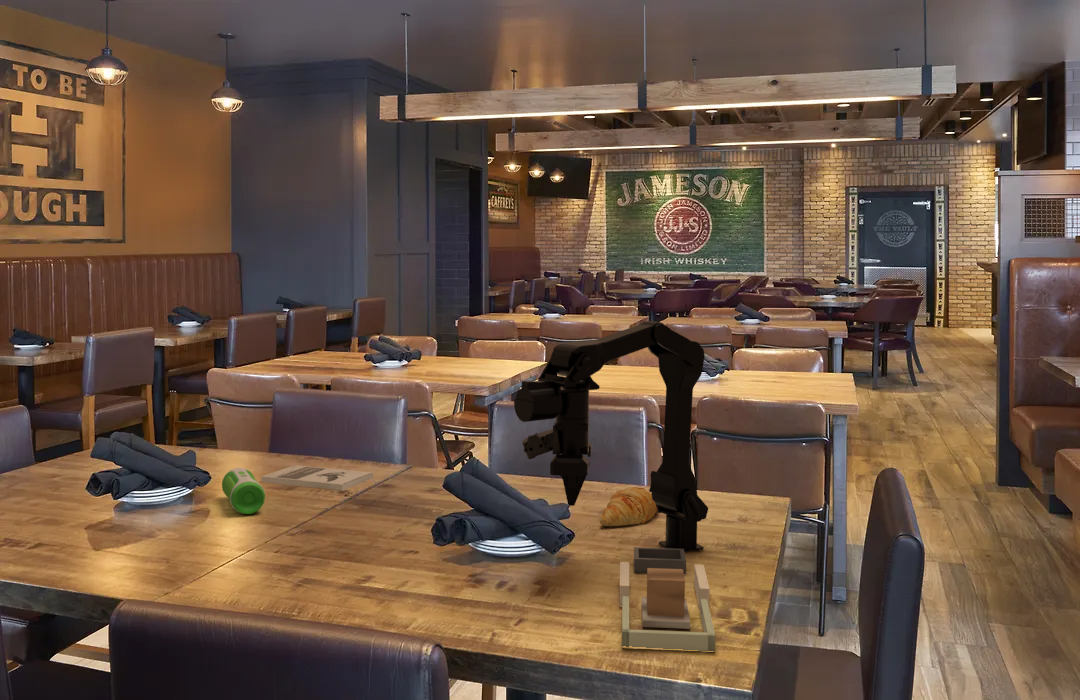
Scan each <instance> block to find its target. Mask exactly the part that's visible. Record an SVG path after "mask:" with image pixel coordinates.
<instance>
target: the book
mask: <svg viewBox="0 0 1080 700" xmlns="http://www.w3.org/2000/svg"><path fill="white" fill-rule="evenodd" d="M371 478H373V479H374V472H368V471H358V470H347V469H340V468H339V469H338V468H330V467H329V468H327V467H317V466H305V465H297V464H296V465H292V466H288V467H286V468H285V467H284V468H283V469H280V470H276V471H273V472H270V473H267V474H264V475H261V477H260V480H261V481H260V482H261V483H265V484H267V483H268V484H276V485H284V486H285V485H286V486H294V487H304V488H313V489H324V490H332V491H343V492H344V491H345V490H348V489H350V488H351V489H352V488H353V487H355V485H356V486H358V485H360V484H359V483H361V484H363V483H365V482H364V481H366V482H368V481H370V480H369V479H371ZM367 480H368V481H367ZM371 480H372V479H371ZM362 482H363V483H362ZM357 484H358V485H357Z"/></svg>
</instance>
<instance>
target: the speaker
mask: <svg viewBox="0 0 1080 700" xmlns="http://www.w3.org/2000/svg"><path fill="white" fill-rule="evenodd" d="M221 489H222V491H223V494H224V495H225V496H226V497H227V499H228V500H229V502H230V506H231V507H232V509H233V510H234V511H235V512H237V513H239V514H241V515H251V514H254V513H257V512H259V510H260V509H261V508H262V507H263V505H264V503H265V499H266V493H265V490H264V487H263V486H262V484H260V482H259V481H258V480H257V479H256V478H255V476H254V474H253V473H252V472H251V471H250V470H249V469H247V468H244V467H236V468H235V467H234V468H233V469H231V470H228V472H226V473H225V475H224V476H223V479H222V482H221Z"/></svg>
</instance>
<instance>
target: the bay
mask: <svg viewBox="0 0 1080 700" xmlns="http://www.w3.org/2000/svg"><path fill="white" fill-rule="evenodd" d="M621 608H622V609H621V610H622V611H621V612H622V617H621V621H622V623H621V647H622V646H626V647H629V646H632V647H646V648H663V649H683V650H698V651H715V652H716V632H715V628H714V627H715V626H714V624H713V619H712V616H711V610H710V605H709V606H708V602H707V599H700V610H699V616H700V615H701V617H700V621H701V620H702V622H701V626H702V625H703V627H702V632H701V631H700V632H699V631H682V630H681V631H677V630H676V631H675V630H652V629H648V630H647V629H631V628H630V595H629V596H623V601H622V607H621ZM703 630H704V632H703Z"/></svg>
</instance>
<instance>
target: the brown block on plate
mask: <svg viewBox="0 0 1080 700" xmlns="http://www.w3.org/2000/svg"><path fill="white" fill-rule="evenodd" d="M685 591H686V581H685V575H684V573H683V569H661V568H647V573H646V596H641V616H642V617H641V618H642V619H641V622H642V627H643V628H658V629H659V628H661V629H664V628H666V629H682V630H683V629H684V630H685V629H686V630H689V629H690V630H691V619H690V612H689V608H688V602H687V598H685V595H686V594H685Z"/></svg>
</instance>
